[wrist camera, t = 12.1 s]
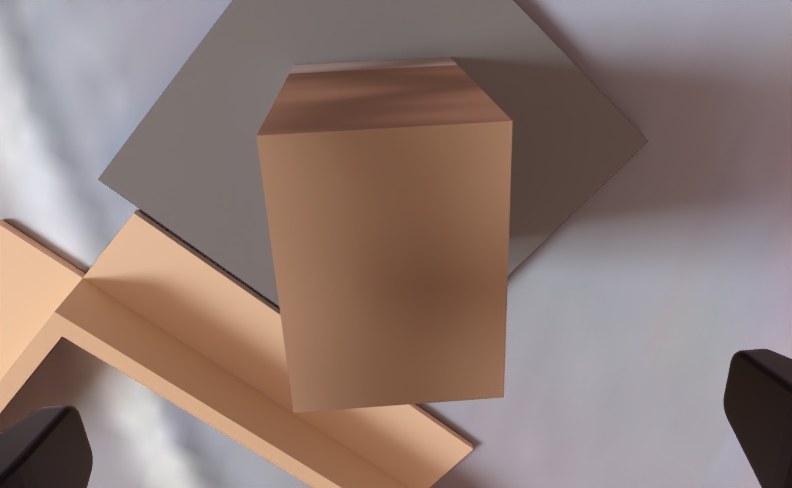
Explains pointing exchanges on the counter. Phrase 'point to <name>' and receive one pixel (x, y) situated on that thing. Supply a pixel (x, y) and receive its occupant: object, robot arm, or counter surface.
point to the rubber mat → (354, 42)
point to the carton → (204, 356)
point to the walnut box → (388, 232)
